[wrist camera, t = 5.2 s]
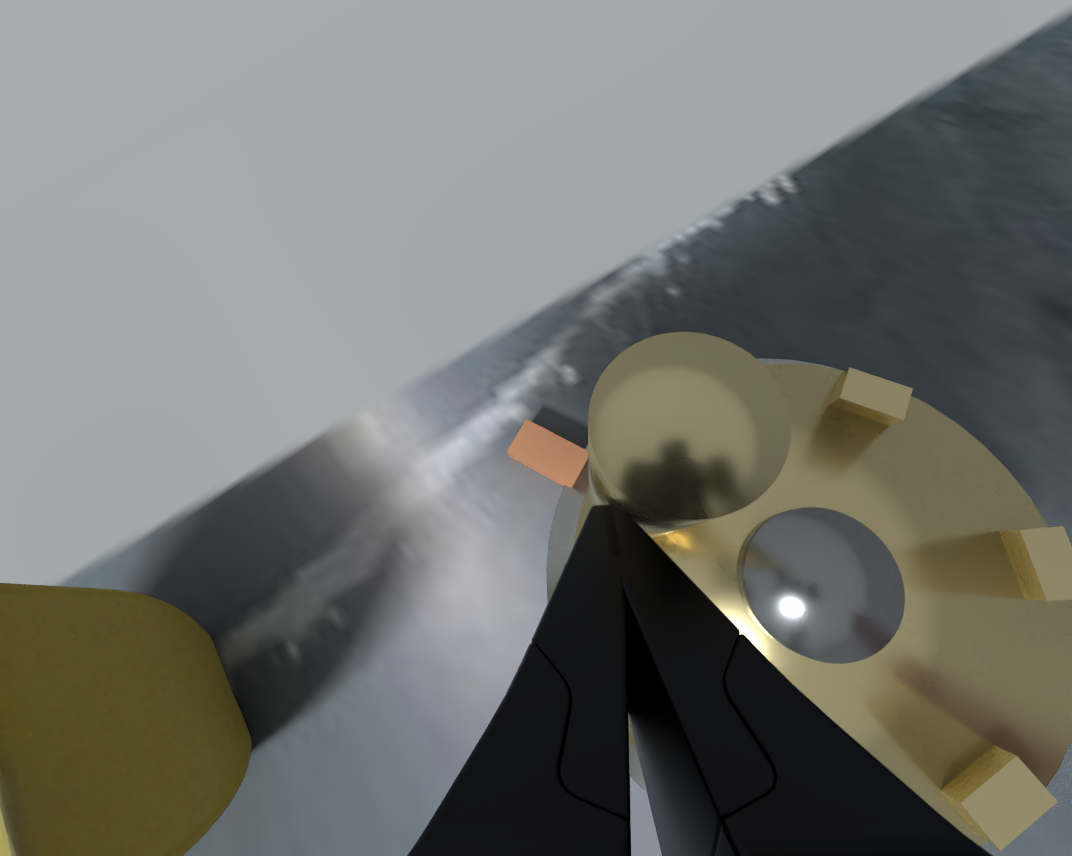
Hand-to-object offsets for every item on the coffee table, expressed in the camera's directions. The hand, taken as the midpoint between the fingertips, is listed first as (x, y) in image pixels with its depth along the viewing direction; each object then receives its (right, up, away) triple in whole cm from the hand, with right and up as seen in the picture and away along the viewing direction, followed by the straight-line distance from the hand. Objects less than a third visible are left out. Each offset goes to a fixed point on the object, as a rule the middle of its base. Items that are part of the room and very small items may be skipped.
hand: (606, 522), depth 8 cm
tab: (-1, +1, +10) cm, 10 cm away
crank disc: (+8, -4, +8) cm, 12 cm away
